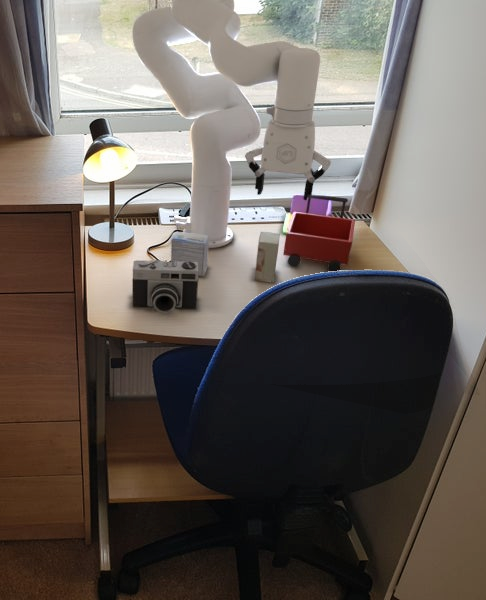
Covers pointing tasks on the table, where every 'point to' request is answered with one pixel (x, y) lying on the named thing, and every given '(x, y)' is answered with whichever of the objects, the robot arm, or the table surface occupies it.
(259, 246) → the white carton box
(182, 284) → the camera
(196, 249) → the medicine box
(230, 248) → the table surface
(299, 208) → the miniature room corner
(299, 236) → the cart
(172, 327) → the table surface
